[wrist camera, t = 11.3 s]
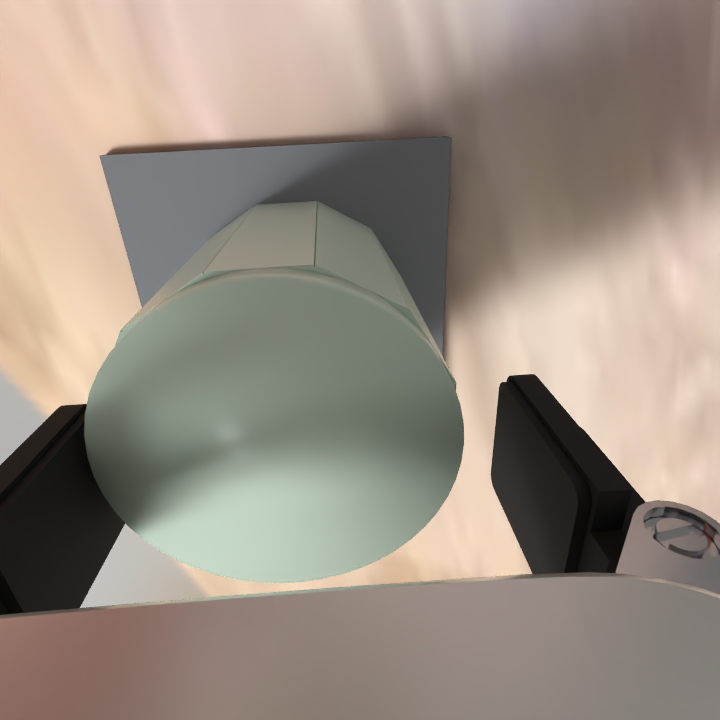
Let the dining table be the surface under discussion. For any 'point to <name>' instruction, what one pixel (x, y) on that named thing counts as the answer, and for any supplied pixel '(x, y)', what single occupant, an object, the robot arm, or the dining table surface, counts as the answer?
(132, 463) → the mint green domed cylinder
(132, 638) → the robot arm
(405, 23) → the dining table surface
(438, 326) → the slate mat
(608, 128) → the dining table surface
